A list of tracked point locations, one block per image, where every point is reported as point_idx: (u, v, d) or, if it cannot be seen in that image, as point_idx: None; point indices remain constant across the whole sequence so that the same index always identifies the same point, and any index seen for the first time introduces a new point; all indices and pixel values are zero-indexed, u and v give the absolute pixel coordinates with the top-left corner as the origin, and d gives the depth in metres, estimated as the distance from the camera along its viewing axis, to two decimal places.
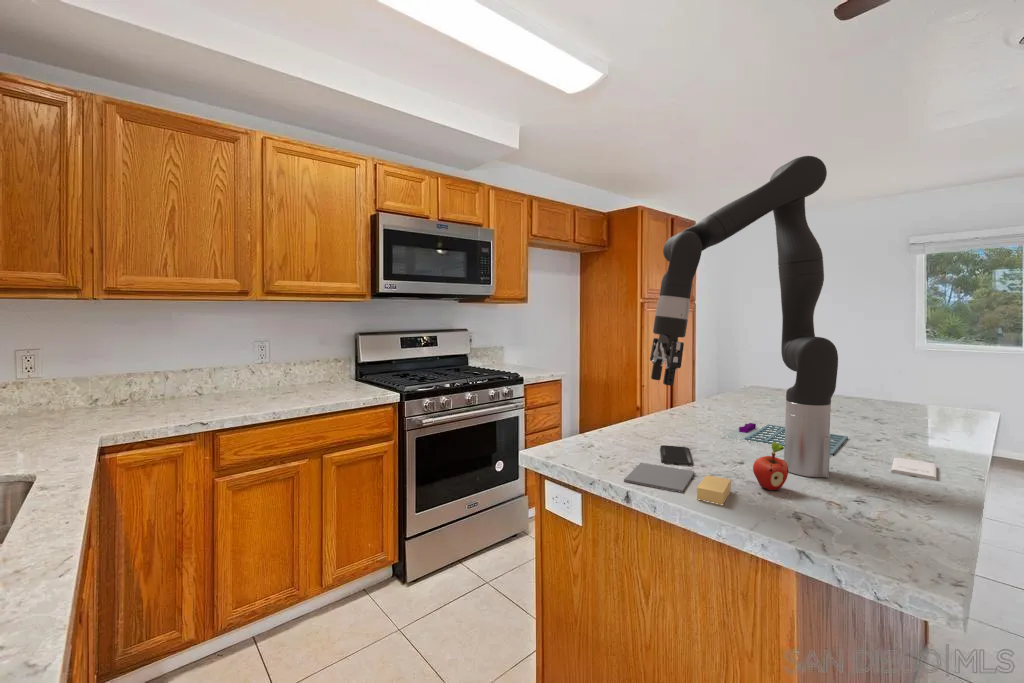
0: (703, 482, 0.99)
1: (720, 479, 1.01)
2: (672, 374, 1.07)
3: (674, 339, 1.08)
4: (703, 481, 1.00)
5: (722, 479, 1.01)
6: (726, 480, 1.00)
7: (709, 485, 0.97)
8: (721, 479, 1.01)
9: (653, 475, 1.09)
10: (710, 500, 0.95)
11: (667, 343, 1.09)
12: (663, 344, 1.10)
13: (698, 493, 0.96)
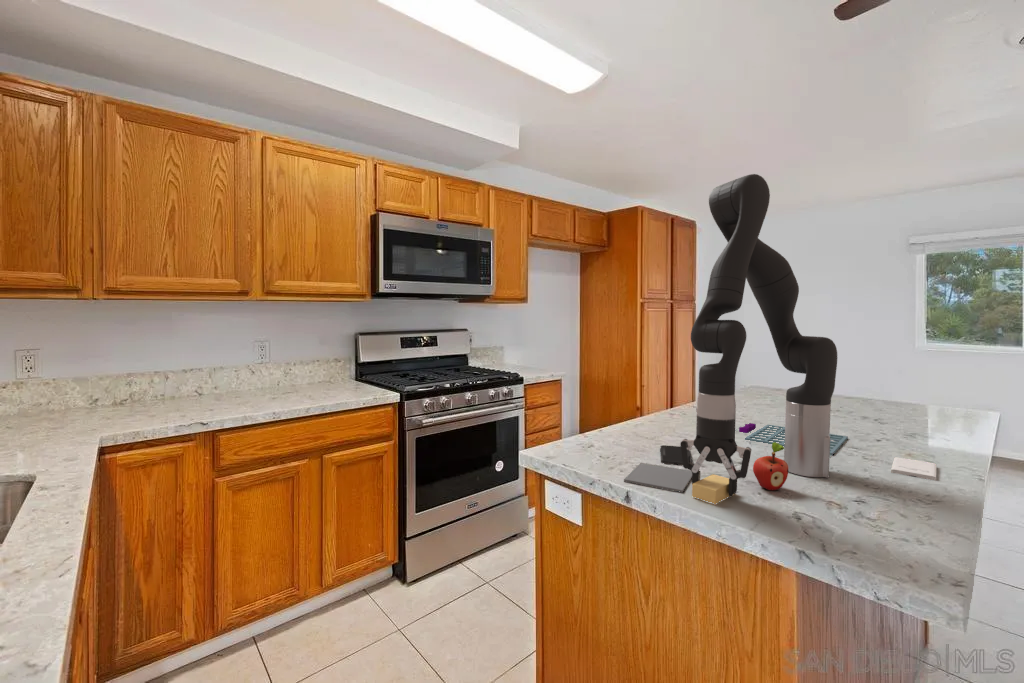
0: (703, 480, 1.00)
1: (724, 479, 1.00)
2: (736, 482, 0.96)
3: (734, 441, 0.96)
4: (704, 479, 1.00)
5: (726, 479, 1.00)
6: None
7: (706, 483, 0.98)
8: (725, 479, 1.00)
9: (653, 475, 1.09)
10: (704, 497, 0.96)
11: (729, 448, 0.96)
12: (723, 450, 0.96)
13: (693, 489, 0.97)
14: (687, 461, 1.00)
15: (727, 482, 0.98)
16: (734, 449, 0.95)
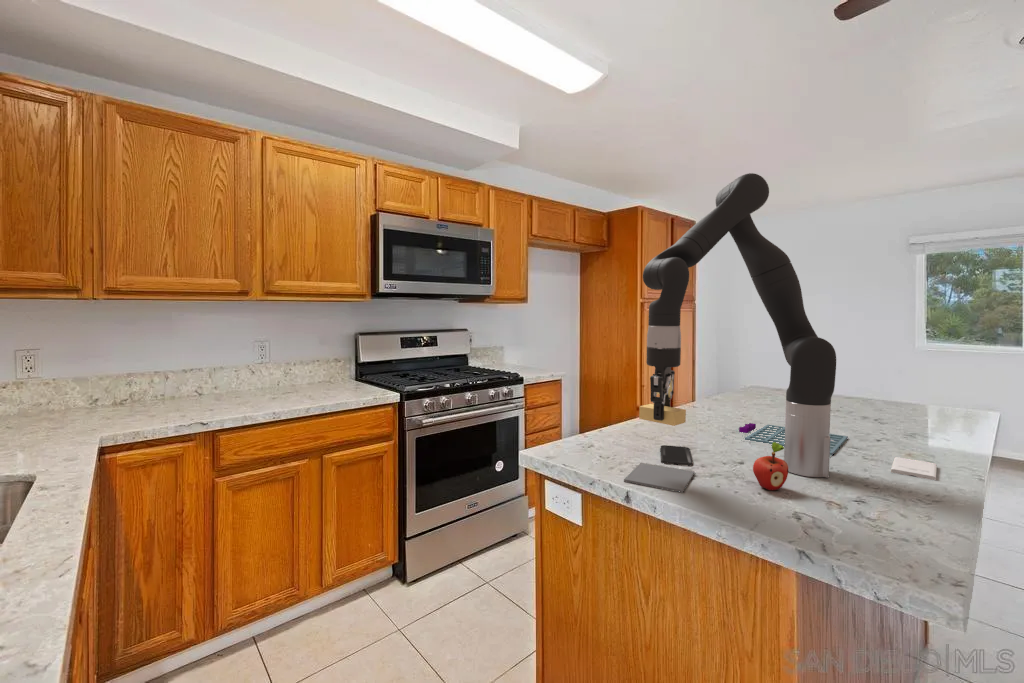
0: None
1: (651, 405, 1.11)
2: None
3: None
4: None
5: (651, 405, 1.11)
6: (653, 404, 1.12)
7: (669, 409, 1.06)
8: (651, 405, 1.11)
9: (653, 475, 1.09)
10: (680, 420, 1.05)
11: (670, 372, 1.09)
12: None
13: (675, 417, 1.03)
14: None
15: None
16: None
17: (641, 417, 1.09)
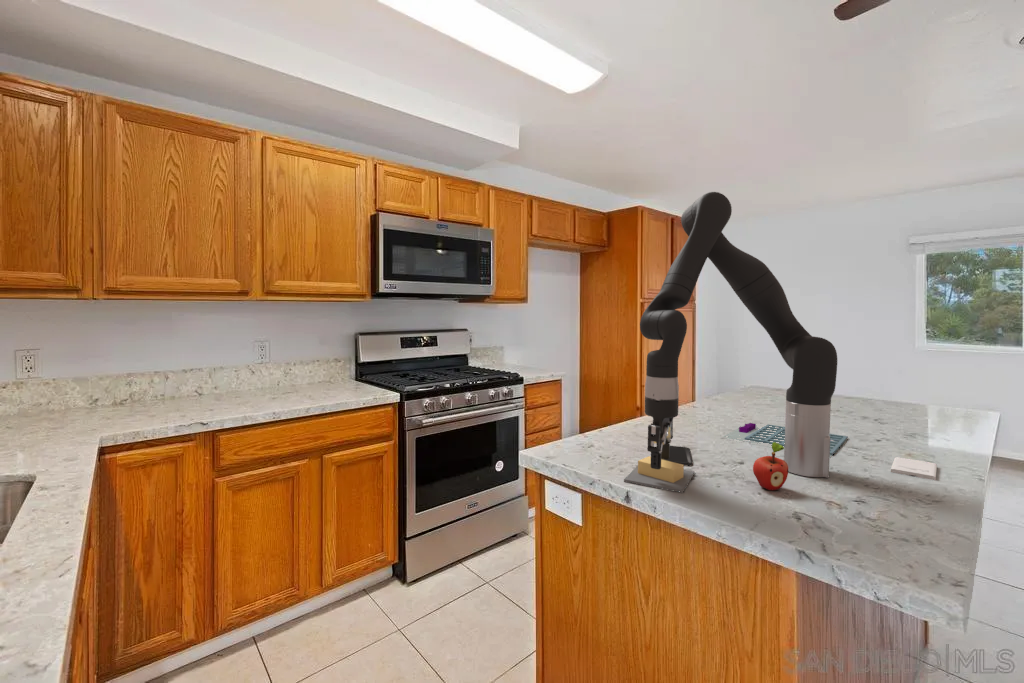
0: None
1: (649, 459, 1.12)
2: None
3: None
4: None
5: (649, 458, 1.13)
6: None
7: (667, 465, 1.07)
8: (649, 458, 1.12)
9: None
10: (678, 476, 1.06)
11: (668, 420, 1.11)
12: None
13: (673, 474, 1.05)
14: None
15: None
16: None
17: (640, 471, 1.11)
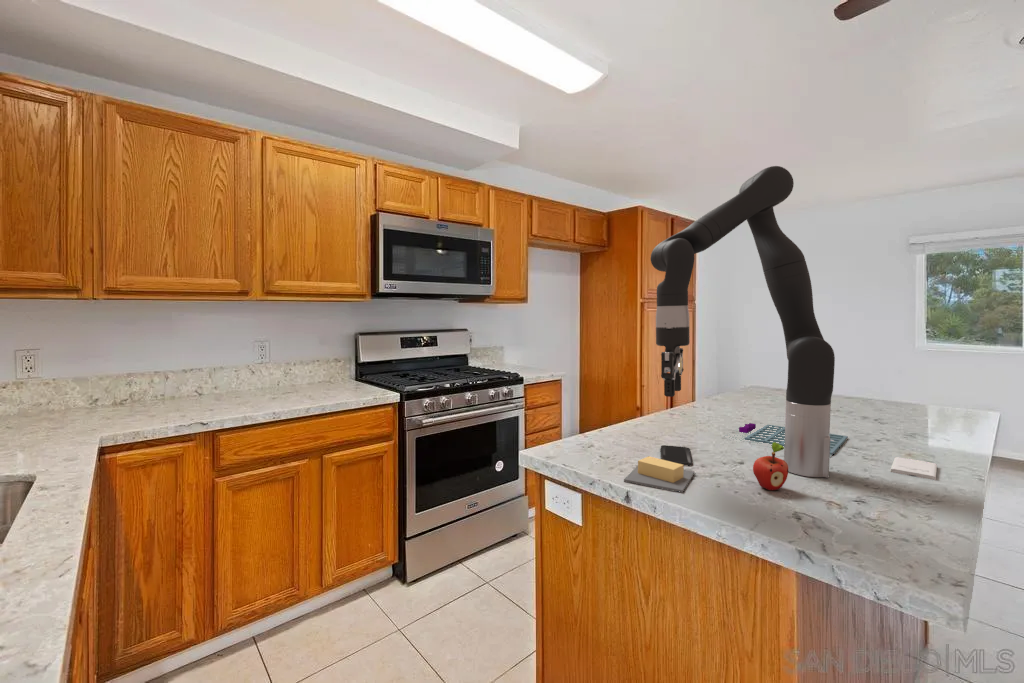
0: (658, 465, 1.07)
1: (649, 459, 1.12)
2: None
3: None
4: (656, 464, 1.08)
5: (649, 458, 1.13)
6: (651, 457, 1.13)
7: (667, 465, 1.07)
8: (649, 458, 1.12)
9: None
10: (678, 476, 1.06)
11: (679, 352, 1.12)
12: None
13: (673, 474, 1.05)
14: None
15: (657, 459, 1.12)
16: None
17: (640, 471, 1.11)
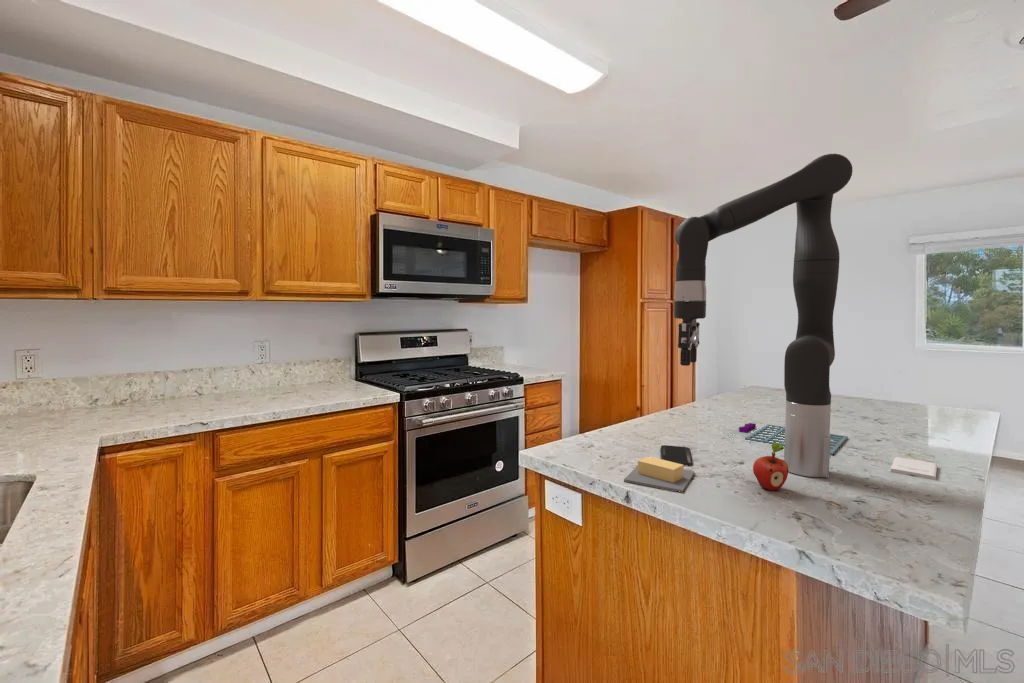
0: (658, 465, 1.07)
1: (649, 459, 1.12)
2: None
3: None
4: (656, 464, 1.08)
5: (649, 458, 1.13)
6: (651, 457, 1.13)
7: (667, 465, 1.07)
8: (649, 458, 1.12)
9: None
10: (678, 476, 1.06)
11: (696, 325, 1.19)
12: None
13: (673, 474, 1.05)
14: None
15: (657, 459, 1.12)
16: None
17: (640, 471, 1.11)
